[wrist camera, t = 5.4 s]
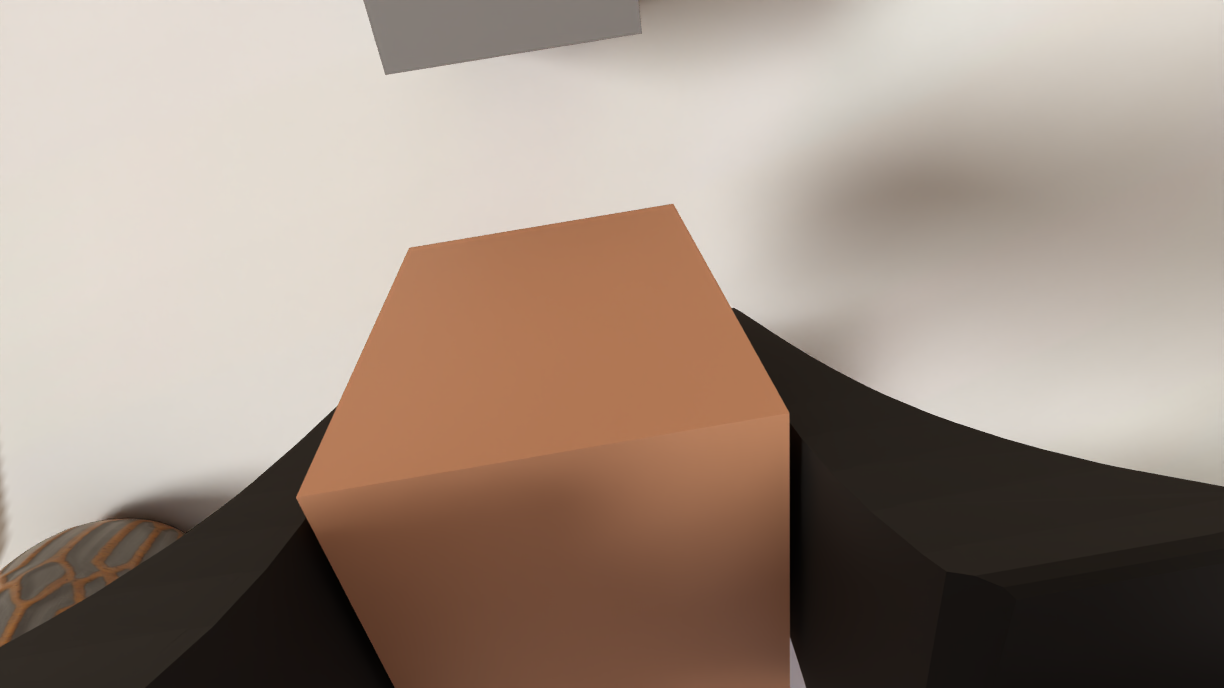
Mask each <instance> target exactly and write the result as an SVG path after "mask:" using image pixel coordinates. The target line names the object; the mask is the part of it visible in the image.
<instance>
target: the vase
mask: <svg viewBox="0 0 1224 688" xmlns="http://www.w3.org/2000/svg"><path fill="white" fill-rule="evenodd" d="M183 535H185V533H183V532H182V531H180V530H178V529H176V528H174V527H172V526H169V525H166V524H163V523H160V522H156V521H152V520H145V519H112V520H102V521H96V522H91V523H87V524H84V525H80V526H76V527H73V528H70V529H67V530H64V531H62V532H60V533H58V534H56V535H54V536H52V537H50V538H48V539H45V540H44V541H42V542H40V543H38V544H37V545H35V546H34V547H32V548H30V549H29V550H27V551H25V552H24V553H23V554H21V555H20V556H18V557H17V558H16V559H14V560H13V561H12V562H10V563H9V564H8V565H6V566H5V567H4V568H3V569H2V570H0V647H1V646H3V645H4V644H6V643H8V642H10V641H12V640H14V639H15V638H17V637H19V636H21V635H23V634H24V633H26V632H28V631H30V630H32V629H34V628H35V627H37V626H39V625H41V624H43V623H44V622H46V621H48V620H50V619H51V618H53V617H55V616H57V615H58V614H60V613H62V612H63V611H65V610H67V609H69V608H70V607H72V606H74V605H75V604H77V603H79V602H81V601H82V600H84V599H86V598H87V597H89V596H91V595H92V594H94V593H96V592H97V591H99V590H101V589H102V588H104V587H105V586H107V585H108V584H110V583H111V582H113V581H114V580H116V579H118V578H119V577H121V576H122V575H124V574H125V573H127V572H128V571H130V570H132V569H133V568H135V567H136V566H138V565H139V564H141V563H142V562H144V561H146V560H147V559H149V558H150V557H152V556H153V555H155V554H156V553H158V552H160V551H161V550H163V549H164V548H166V547H167V546H169V545H170V544H172V543H173V542H175V541H176V540H177V539H179V538H180V537H182V536H183Z"/></svg>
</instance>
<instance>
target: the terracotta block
mask: <svg viewBox="0 0 1224 688" xmlns="http://www.w3.org/2000/svg"><path fill="white" fill-rule="evenodd" d="M296 499H297V501H298V502H299V504H300V506H301V508H302V510H303V512H304V514H305V516H306V518H307V520H308V522H309V524H310V526H311V528H312V529H313V531H314V533H315V535H316V537H317V539H318V541H319V543H320V545H321V547H322V549H323V551H324V553H325V554H326V556H327V558H328V560H329V562H330V564H331V566H332V568H333V570H334V572H335V574H336V576H337V578H338V579H339V581H340V583H341V585H342V587H343V589H344V591H345V593H346V595H347V597H348V599H349V601H350V603H351V605H352V606H353V608H354V610H355V612H356V614H357V616H358V618H359V620H360V622H361V624H362V626H363V628H364V630H365V631H366V633H367V635H368V637H369V639H370V641H371V643H372V645H373V647H374V649H375V651H376V653H377V655H378V657H379V658H380V660H381V662H382V664H383V666H384V668H385V670H386V672H387V674H388V676H389V678H390V680H391V682H392V683H393V685H394V687H395V688H790V444H789V411H788V409H787V408H786V406H785V404H784V402H783V400H782V399H781V397H780V395H779V393H778V391H777V390H776V388H775V386H774V384H773V383H772V381H771V379H770V377H769V375H768V374H767V372H766V370H765V368H764V366H763V365H762V363H761V361H760V359H759V357H758V356H757V354H756V352H755V350H754V348H753V347H752V345H751V343H750V341H749V339H748V338H747V336H746V334H745V332H744V330H743V329H742V327H741V325H740V323H739V321H738V320H737V318H736V316H735V314H734V312H733V311H732V309H731V307H730V305H729V303H728V302H727V300H726V298H725V296H724V294H723V293H722V291H721V289H720V287H719V285H718V284H717V282H716V280H715V278H714V276H713V275H712V273H711V271H710V269H709V267H708V266H707V264H706V262H705V260H704V258H703V257H702V255H701V253H700V251H699V249H698V248H697V246H696V244H695V242H694V240H693V239H692V237H691V235H690V233H689V231H688V230H687V228H686V226H685V224H684V222H683V221H682V219H681V217H680V215H679V213H678V212H677V210H676V208H675V206H674V204H669V205H663V206H657V207H651V208H645V209H639V210H633V211H627V212H621V213H615V214H609V215H603V216H597V217H591V218H585V219H579V220H573V221H567V222H561V223H555V224H549V225H543V226H537V227H531V228H525V229H519V230H513V231H507V232H501V233H495V234H489V235H484V236H478V237H472V238H466V239H460V240H454V241H448V242H442V243H436V244H430V245H424V246H418V247H412V248H409V250H408V252H407V254H406V256H405V258H404V261H403V263H402V265H401V267H400V269H399V272H398V274H397V276H396V278H395V280H394V283H393V285H392V287H391V289H390V291H389V294H388V296H387V298H386V300H385V302H384V305H383V307H382V309H381V311H380V313H379V316H378V318H377V320H376V322H375V325H374V327H373V329H372V331H371V333H370V336H369V338H368V340H367V342H366V344H365V347H364V349H363V351H362V353H361V355H360V358H359V360H358V362H357V364H356V366H355V369H354V371H353V373H352V375H351V377H350V380H349V382H348V384H347V386H346V388H345V391H344V393H343V395H342V397H341V399H340V402H339V404H338V406H337V408H336V410H335V413H334V415H333V417H332V419H331V421H330V424H329V426H328V428H327V430H326V432H325V435H324V437H323V439H322V441H321V443H320V446H319V448H318V450H317V452H316V455H315V457H314V459H313V461H312V463H311V466H310V468H309V470H308V472H307V474H306V477H305V479H304V481H303V483H302V485H301V488H300V490H299V492H298V494H297V496H296Z"/></svg>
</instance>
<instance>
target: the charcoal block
mask: <svg viewBox="0 0 1224 688" xmlns="http://www.w3.org/2000/svg"><path fill="white" fill-rule="evenodd" d="M364 4H365V7H366V11H367V14H368V17H369V21H370V24H371V28H372V31H373V34H374V38H375V41H376V45H377V48H378V51H379V55H380V58H381V62H382V65H383V68H384V72H385V75H388V74H394V73H400V72H406V71H413V70H419V69H425V68H431V67H437V66H443V65H450V64H456V63H462V62H468V61H474V60H480V59H487V58H493V57H499V56H505V55H511V54H517V53H524V52H530V51H536V50H542V49H548V48H555V47H561V46H567V45H573V44H579V43H585V42H592V41H598V40H604V39H610V38H616V37H622V36H629V35H635V34H641V33H642V29H641V20H640V10H639V0H364Z"/></svg>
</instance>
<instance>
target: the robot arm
mask: <svg viewBox="0 0 1224 688" xmlns="http://www.w3.org/2000/svg"><path fill="white" fill-rule="evenodd" d="M731 309H732V311H733V312H734V314H735V316H736V318H737V320H738V321H739V323H740V325H741V327H742V329H743V330H744V332H745V334H746V336H747V338H748V339H749V341H750V343H751V345H752V347H753V348H754V350H755V352H756V354H757V356H758V357H759V359H760V361H761V363H762V365H763V366H764V368H765V370H766V372H767V374H768V375H769V377H770V379H771V381H772V383H773V384H774V386H775V388H776V390H777V391H778V393H779V395H780V397H781V399H782V400H783V402H784V404H785V406H786V408H787V409H788V411H789V444H790V688H1224V487H1223V486H1217V485H1212V484H1206V483H1201V482H1196V481H1190V480H1185V479H1179V478H1174V477H1168V476H1163V475H1158V474H1152V473H1147V472H1141V471H1136V470H1130V469H1125V468H1120V467H1115V466H1110V465H1105V464H1101V463H1097V462H1093V461H1088V460H1084V459H1080V458H1076V457H1072V456H1068V455H1064V454H1060V453H1056V452H1051V451H1047V450H1043V449H1040V448H1036V447H1032V446H1029V445H1025V444H1022V443H1018V442H1015V441H1011V440H1007V439H1004V438H1001V437H998V436H995V435H992V434H988V433H985V432H982V431H979V430H976V429H973V428H970V427H967V426H964V425H961V424H958V423H955V422H952V421H949V420H946V419H944V418H941V417H938V416H935V415H933V414H930V413H927V412H925V411H922V410H920V409H918V408H915V407H913V406H910V405H908V404H906V403H903V402H901V401H898V400H896V399H893V398H891V397H889V396H886V395H884V394H882V393H880V392H878V391H875V390H873V389H871V388H869V387H867V386H865V385H863V384H861V383H859V382H857V381H855V380H853V379H851V378H849V377H847V376H846V375H844V374H842V373H840V372H838V371H836V370H834V369H832V368H830V367H829V366H827V365H825V364H823V363H821V362H820V361H818V360H816V359H814V358H813V357H811V356H809V355H808V354H806V353H804V352H803V351H801V350H799V349H798V348H796V347H794V346H793V345H791V344H790V343H788V342H786V341H785V340H783V339H782V338H780V337H779V336H777V335H775V334H774V333H772V332H771V331H769V330H768V329H766V328H765V327H763V326H762V325H760V324H759V323H757V322H756V321H754V320H753V319H751V318H750V317H748V316H746V315H745V314H743V313H742V312H740V311H739V310H737V309H735V308H731ZM336 408H337V407H336ZM336 408H335V409H334V410H333V411H331V412H330V413H329V414H328V415H327V416H326V417H325V418H324V419H323V420H322V421H321V422H320V423H319V424H318V425H317V426H316V427H315V428H313V429H312V430H311V431H310V432H309V433H308V434H307V435H306V436H305V437H304V438H303V439H302V440H301V441H300V442H299V443H297V444H296V445H295V446H294V447H293V448H292V449H291V450H289V451H288V452H287V453H286V454H285V455H284V456H282V457H281V458H280V459H279V460H278V461H277V462H276V463H274V464H273V465H272V466H271V467H270V468H269V469H267V470H266V471H265V472H264V473H263V474H262V475H261V476H259V477H258V478H257V479H256V480H255V481H254V482H253V483H251V484H250V485H249V486H248V487H247V488H245V489H244V490H243V491H242V492H240V493H239V494H238V495H237V496H235V497H234V498H233V499H232V500H230V501H229V502H228V503H226V504H225V505H224V506H223V507H221V508H220V509H219V510H217V511H216V512H215V513H213V514H212V515H211V516H209V517H208V518H206V519H205V520H204V521H202V522H201V523H200V524H198V525H197V526H196V527H194V528H193V529H191V530H190V531H189V532H187V533H186V534H185V535H183V536H182V537H180V538H179V539H177V540H176V541H175V542H173V543H172V544H170V545H169V546H167V547H166V548H164V549H163V550H161V551H160V552H158V553H156V554H155V555H153V556H152V557H150V558H149V559H147V560H146V561H144V562H142V563H141V564H139V565H138V566H136V567H135V568H133V569H132V570H130V571H128V572H127V573H125V574H124V575H122V576H121V577H119V578H118V579H116V580H114V581H113V582H111V583H110V584H108V585H107V586H105V587H104V588H102V589H101V590H99V591H97V592H96V593H94V594H92V595H91V596H89V597H87V598H86V599H84V600H82V601H81V602H79V603H77V604H75V605H74V606H72V607H70V608H69V609H67V610H65V611H63V612H62V613H60V614H58V615H57V616H55V617H53V618H51V619H50V620H48V621H46V622H44V623H43V624H41V625H39V626H37V627H35V628H34V629H32V630H30V631H28V632H26V633H24V634H23V635H21V636H19V637H17V638H15V639H14V640H12V641H10V642H8V643H6V644H4V645H3V646H1V647H0V688H395V687H394V685H393V683H392V682H391V680H390V678H389V676H388V674H387V672H386V670H385V668H384V666H383V664H382V662H381V660H380V658H379V657H378V655H377V653H376V651H375V649H374V647H373V645H372V643H371V641H370V639H369V637H368V635H367V633H366V631H365V630H364V628H363V626H362V624H361V622H360V620H359V618H358V616H357V614H356V612H355V610H354V608H353V606H352V605H351V603H350V601H349V599H348V597H347V595H346V593H345V591H344V589H343V587H342V585H341V583H340V581H339V579H338V578H337V576H336V574H335V572H334V570H333V568H332V566H331V564H330V562H329V560H328V558H327V556H326V554H325V553H324V551H323V549H322V547H321V545H320V543H319V541H318V539H317V537H316V535H315V533H314V531H313V529H312V528H311V526H310V524H309V522H308V520H307V518H306V516H305V514H304V512H303V510H302V508H301V506H300V504H299V502H298V501H297V499H296V496H297V494H298V492H299V490H300V488H301V485H302V483H303V481H304V479H305V477H306V474H307V472H308V470H309V468H310V466H311V463H312V461H313V459H314V457H315V455H316V452H317V450H318V448H319V446H320V443H321V441H322V439H323V437H324V435H325V432H326V430H327V428H328V426H329V424H330V421H331V419H332V417H333V415H334V413H335V410H336Z"/></svg>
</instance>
